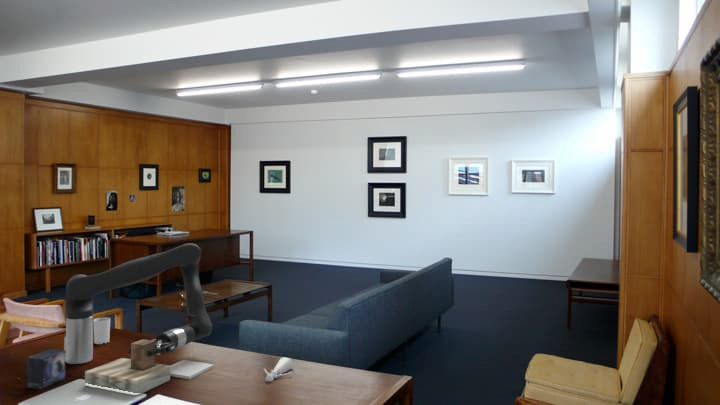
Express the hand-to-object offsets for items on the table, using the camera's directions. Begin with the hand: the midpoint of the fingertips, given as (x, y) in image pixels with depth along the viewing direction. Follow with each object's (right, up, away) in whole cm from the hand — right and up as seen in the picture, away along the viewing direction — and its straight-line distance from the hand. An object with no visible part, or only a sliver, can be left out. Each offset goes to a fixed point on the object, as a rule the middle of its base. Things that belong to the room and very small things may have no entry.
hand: (138, 352), depth 180 cm
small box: (-31, -10, -2) cm, 33 cm away
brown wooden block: (+1, -9, +2) cm, 9 cm away
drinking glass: (-36, -9, +47) cm, 60 cm away
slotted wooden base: (-3, -10, 0) cm, 11 cm away
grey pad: (+12, -10, +13) cm, 21 cm away
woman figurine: (+47, -12, +11) cm, 49 cm away
